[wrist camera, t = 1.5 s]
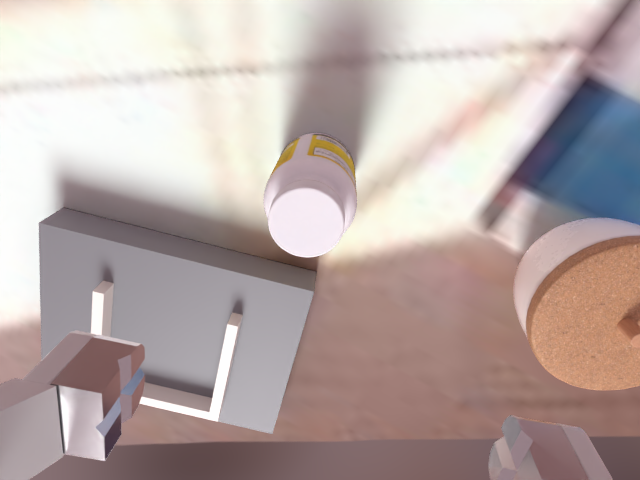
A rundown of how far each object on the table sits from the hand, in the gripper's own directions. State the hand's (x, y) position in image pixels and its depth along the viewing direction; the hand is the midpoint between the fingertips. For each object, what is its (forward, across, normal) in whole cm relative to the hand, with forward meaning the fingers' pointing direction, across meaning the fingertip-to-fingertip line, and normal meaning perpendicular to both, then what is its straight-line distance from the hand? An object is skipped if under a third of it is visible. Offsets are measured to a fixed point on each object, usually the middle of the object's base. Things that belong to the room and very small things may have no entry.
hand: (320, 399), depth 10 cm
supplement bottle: (+24, +2, +1) cm, 24 cm away
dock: (+23, +11, +16) cm, 30 cm away
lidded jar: (+24, -18, +5) cm, 30 cm away
